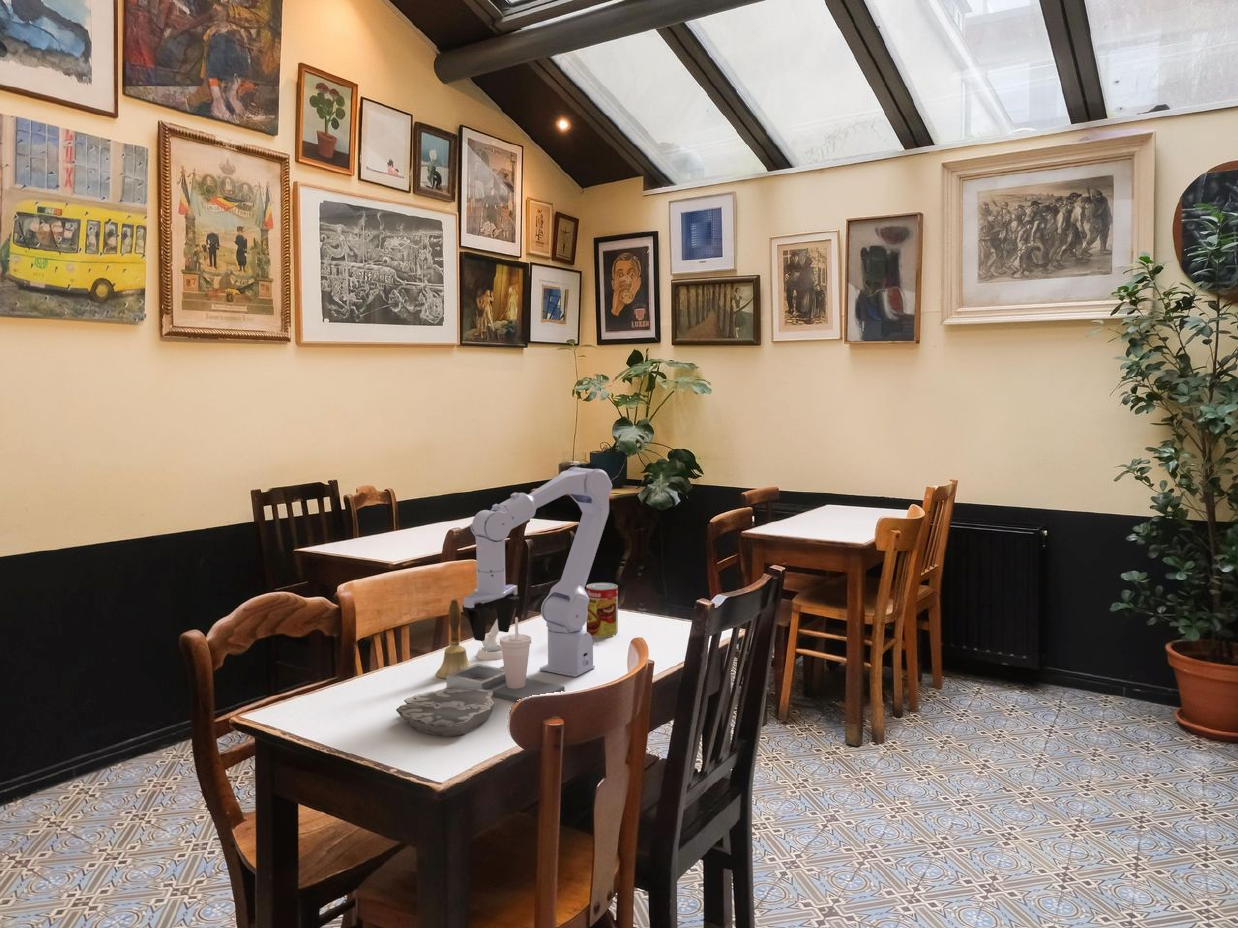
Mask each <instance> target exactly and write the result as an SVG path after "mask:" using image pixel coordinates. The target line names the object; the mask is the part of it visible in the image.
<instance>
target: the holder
mask: <svg viewBox="0 0 1238 928" xmlns="http://www.w3.org/2000/svg"><path fill="white" fill-rule="evenodd" d="M477 678H480V679H483V680H478V679H477ZM445 680H446V682H445V684H446V685H445V686H446V688H447V689H452V688H473V689H485V690H493V689H495V688H498V687H500V686H502V685H505V684H506V677H505V670H504V665H503V666H501V667H495V666H492V665H485V664H481V663H475V664H473V665H471V666H470V667H467V668H465V669H462V670H460V671H457V672H454V673H452V674H449V675H447V676H446V679H445Z"/></svg>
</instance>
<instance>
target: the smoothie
mask: <svg viewBox="0 0 1238 928" xmlns="http://www.w3.org/2000/svg"><path fill="white" fill-rule="evenodd" d="M514 623H515V624H514V632H515V633H513V634H506V635H504V636H501V637H500V638H499V642H498V643H499V644H498V645H501V647H502V655H503V659H502V660H503V662H502V663H503V666H504V670H505V677H506V684H507V687H508V688H512V689H517V688H522V687H524V686H525V682H526V678H527V672H528V664H529V663H528V662H529V656H530V645H532V637H531V636H530V635H527V634H521V633H520V634H519V617H518V616H516V617H514Z"/></svg>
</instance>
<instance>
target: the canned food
mask: <svg viewBox="0 0 1238 928" xmlns="http://www.w3.org/2000/svg"><path fill="white" fill-rule="evenodd" d="M585 587H586V589H585V591H586V593H587V595H588V597H589V603H588V608H587V609H588V617H587V621H586V623H585V625H586V631H585V632H588V633H590V634H591V636H592V638H609V637H608V636H611V637H614V636H613V635H615V636H617V635H618V634H617V633H618V632H619V623H618V622H619V617H618V616H619V615H618V614H619V611H618V610H619V607H618V606H619V605H618V602H619V600H618V599H619V598H618V597H619V595H618V594H619V588H618V587H619V585H617V584H615V583H613V582H593V583H588V584H586V585H585ZM616 634H617V635H616Z"/></svg>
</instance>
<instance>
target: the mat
mask: <svg viewBox="0 0 1238 928" xmlns="http://www.w3.org/2000/svg"><path fill="white" fill-rule="evenodd" d="M565 689H566V687H565V686H564V685H559V684H556V683H550V682H546V681H541V680H535V679H532V678H527V677H526V682H525V686H524V687H522V688H517V689H512V688H508V687H507V684H505V685H502V686H500V687H498V688H495V689H493V690H491V691H493V698H498V699H502V700H505V701H511V702H516V701H517V700H519V699H522V698H525V697H529V696H532V695H540V694H546V693H554V692H561V691H564V692H565V691H566V690H565ZM516 703H517V702H516Z"/></svg>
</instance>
